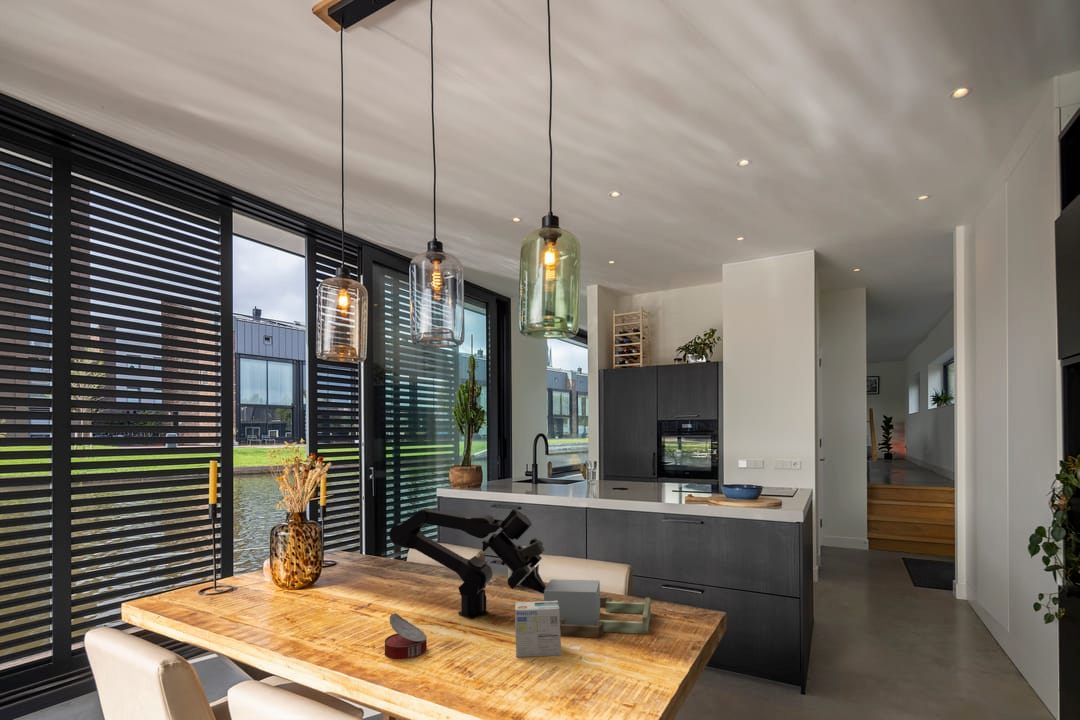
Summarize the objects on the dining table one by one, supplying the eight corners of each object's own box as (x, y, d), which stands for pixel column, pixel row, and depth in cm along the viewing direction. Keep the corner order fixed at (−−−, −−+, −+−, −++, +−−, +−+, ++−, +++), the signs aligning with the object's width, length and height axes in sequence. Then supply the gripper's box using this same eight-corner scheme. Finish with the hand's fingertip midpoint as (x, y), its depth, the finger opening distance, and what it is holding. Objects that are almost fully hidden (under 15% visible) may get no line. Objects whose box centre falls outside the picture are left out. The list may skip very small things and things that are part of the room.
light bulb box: (560, 645, 147) (558, 599, 148) (561, 656, 140) (560, 608, 141) (515, 647, 147) (514, 601, 148) (515, 658, 140) (514, 609, 141)
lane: (527, 633, 155) (527, 617, 156) (548, 603, 181) (548, 589, 182) (646, 640, 149) (646, 623, 149) (651, 607, 175) (650, 593, 175)
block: (544, 625, 161) (543, 590, 162) (551, 611, 173) (550, 579, 174) (597, 627, 159) (596, 592, 160) (600, 613, 171) (599, 580, 172)
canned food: (403, 663, 150) (416, 621, 155) (429, 669, 144) (442, 624, 149) (367, 653, 143) (381, 609, 148) (393, 658, 137) (407, 612, 142)
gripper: (518, 537, 162) (559, 581, 159) (534, 525, 180) (571, 564, 177) (490, 566, 163) (531, 611, 160) (509, 551, 181) (546, 591, 178)
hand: (546, 592), depth 168 cm, fingers closed
